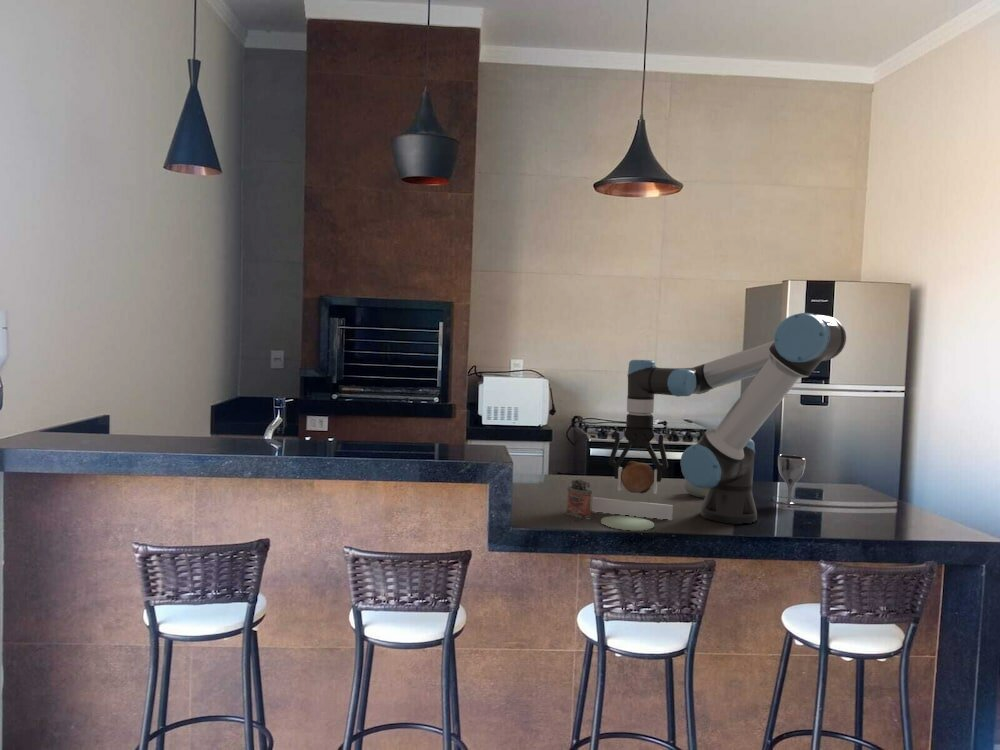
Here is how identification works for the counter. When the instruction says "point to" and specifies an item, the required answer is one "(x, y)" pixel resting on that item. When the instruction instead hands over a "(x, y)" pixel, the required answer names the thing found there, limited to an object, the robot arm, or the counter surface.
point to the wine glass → (791, 470)
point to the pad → (627, 523)
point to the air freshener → (695, 490)
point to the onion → (637, 477)
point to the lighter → (579, 499)
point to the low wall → (632, 508)
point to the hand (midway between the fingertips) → (637, 491)
